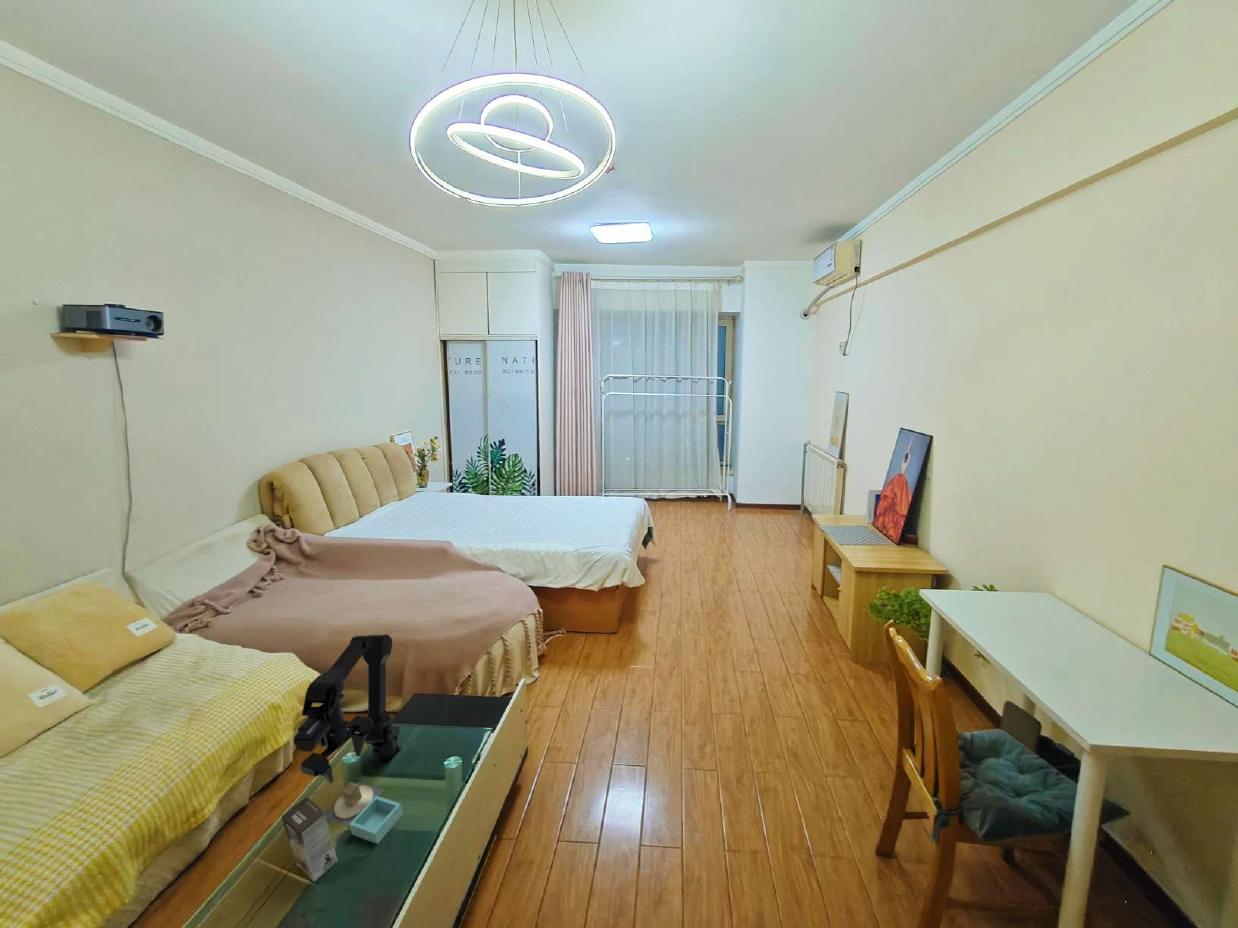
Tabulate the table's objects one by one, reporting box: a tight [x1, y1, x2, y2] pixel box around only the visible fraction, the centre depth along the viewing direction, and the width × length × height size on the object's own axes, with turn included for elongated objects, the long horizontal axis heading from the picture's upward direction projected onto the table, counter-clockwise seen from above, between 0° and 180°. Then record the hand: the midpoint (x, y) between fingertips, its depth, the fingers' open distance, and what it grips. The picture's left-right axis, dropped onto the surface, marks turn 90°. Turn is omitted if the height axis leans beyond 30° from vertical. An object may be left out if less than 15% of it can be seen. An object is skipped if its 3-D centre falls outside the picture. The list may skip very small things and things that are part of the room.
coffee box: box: [281, 796, 338, 882], centre depth 128 cm, size 9×6×16 cm
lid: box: [333, 781, 374, 819], centre depth 146 cm, size 10×10×5 cm
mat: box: [325, 781, 385, 828], centre depth 146 cm, size 12×10×1 cm
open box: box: [349, 796, 404, 845], centre depth 139 cm, size 9×9×4 cm
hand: (345, 768), depth 143 cm, fingers open, 9 cm apart
